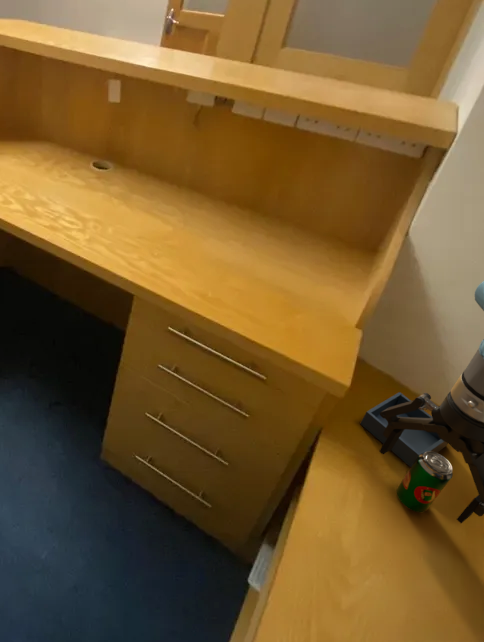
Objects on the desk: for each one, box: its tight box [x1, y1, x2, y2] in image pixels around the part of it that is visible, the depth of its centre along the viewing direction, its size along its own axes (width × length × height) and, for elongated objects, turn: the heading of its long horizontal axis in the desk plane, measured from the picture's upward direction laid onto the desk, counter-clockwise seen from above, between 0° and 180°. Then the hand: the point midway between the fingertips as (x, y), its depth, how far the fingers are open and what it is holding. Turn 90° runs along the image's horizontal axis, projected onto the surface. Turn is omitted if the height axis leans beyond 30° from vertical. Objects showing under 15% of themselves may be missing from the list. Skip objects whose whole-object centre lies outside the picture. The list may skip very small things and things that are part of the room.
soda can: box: [395, 451, 454, 513], centre depth 91 cm, size 5×5×12 cm
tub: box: [359, 391, 449, 468], centre depth 105 cm, size 11×11×4 cm
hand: (422, 482), depth 91 cm, fingers open, 13 cm apart
